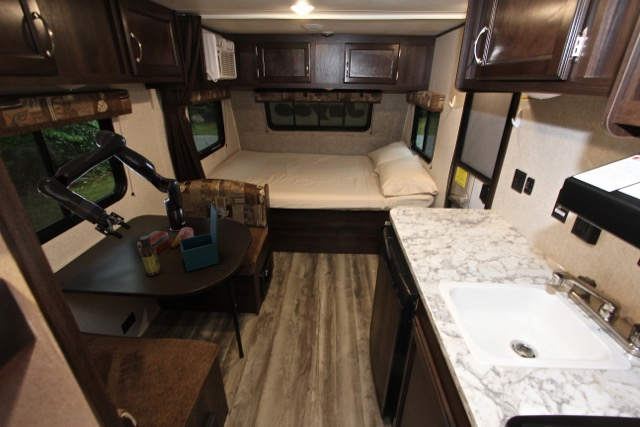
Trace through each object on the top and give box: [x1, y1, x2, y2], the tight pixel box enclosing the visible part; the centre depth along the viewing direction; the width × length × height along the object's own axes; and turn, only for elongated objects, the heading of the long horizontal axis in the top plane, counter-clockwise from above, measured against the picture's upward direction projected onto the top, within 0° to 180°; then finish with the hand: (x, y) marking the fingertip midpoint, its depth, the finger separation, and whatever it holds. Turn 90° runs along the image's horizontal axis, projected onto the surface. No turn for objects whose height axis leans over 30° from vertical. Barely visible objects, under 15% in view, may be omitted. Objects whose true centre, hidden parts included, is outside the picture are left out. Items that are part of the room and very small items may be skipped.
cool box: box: [179, 232, 220, 273], centre depth 151 cm, size 16×13×12 cm
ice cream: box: [170, 226, 195, 249], centre depth 168 cm, size 11×10×15 cm
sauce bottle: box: [139, 235, 161, 277], centre depth 140 cm, size 6×6×20 cm
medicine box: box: [136, 230, 171, 257], centre depth 162 cm, size 15×8×8 cm, turn 172°
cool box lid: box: [209, 203, 226, 244], centre depth 150 cm, size 17×13×5 cm
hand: (126, 232), depth 133 cm, fingers open, 8 cm apart
